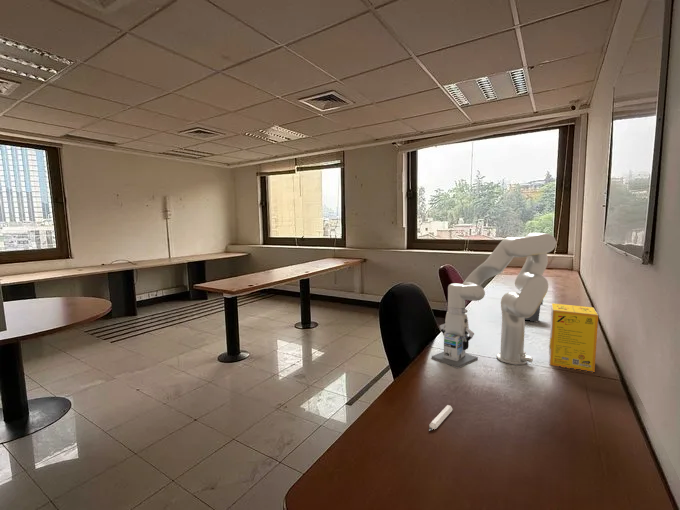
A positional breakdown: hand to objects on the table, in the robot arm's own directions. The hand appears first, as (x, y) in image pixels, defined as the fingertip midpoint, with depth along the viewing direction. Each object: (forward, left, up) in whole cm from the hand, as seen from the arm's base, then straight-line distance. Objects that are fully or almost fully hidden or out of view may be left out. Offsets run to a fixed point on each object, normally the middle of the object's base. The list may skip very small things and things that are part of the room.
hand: (456, 346), depth 158 cm
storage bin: (+11, -98, -6) cm, 98 cm away
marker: (-26, +49, -7) cm, 56 cm away
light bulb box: (0, 0, -5) cm, 5 cm away
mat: (0, 0, -6) cm, 6 cm away
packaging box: (-35, -38, -6) cm, 52 cm away
